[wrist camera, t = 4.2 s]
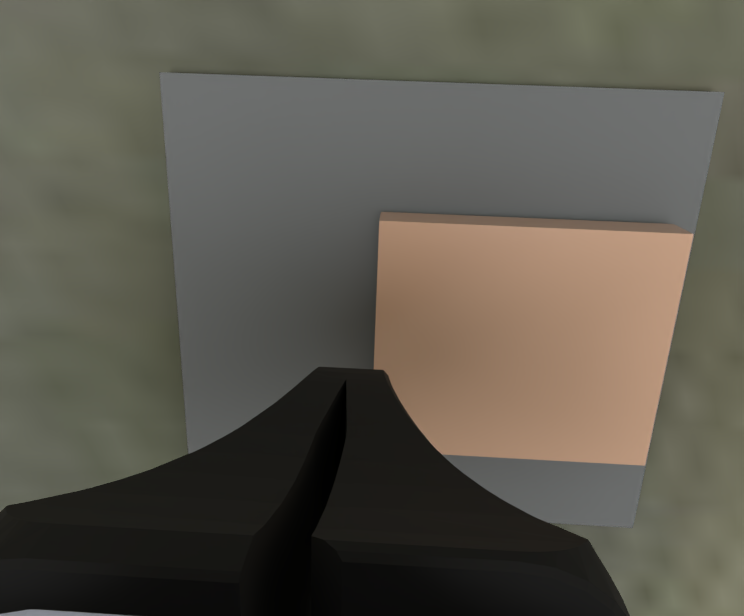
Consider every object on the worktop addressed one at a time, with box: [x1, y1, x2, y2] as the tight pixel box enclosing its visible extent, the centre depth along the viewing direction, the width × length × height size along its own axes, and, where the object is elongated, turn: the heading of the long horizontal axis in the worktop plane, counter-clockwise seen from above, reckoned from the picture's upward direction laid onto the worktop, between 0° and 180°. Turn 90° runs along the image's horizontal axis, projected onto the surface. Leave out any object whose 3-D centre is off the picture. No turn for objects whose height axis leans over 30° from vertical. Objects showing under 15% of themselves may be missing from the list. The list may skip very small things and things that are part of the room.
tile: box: [374, 212, 694, 466], centre depth 16 cm, size 6×1×7 cm
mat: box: [160, 72, 724, 528], centre depth 17 cm, size 12×13×1 cm
